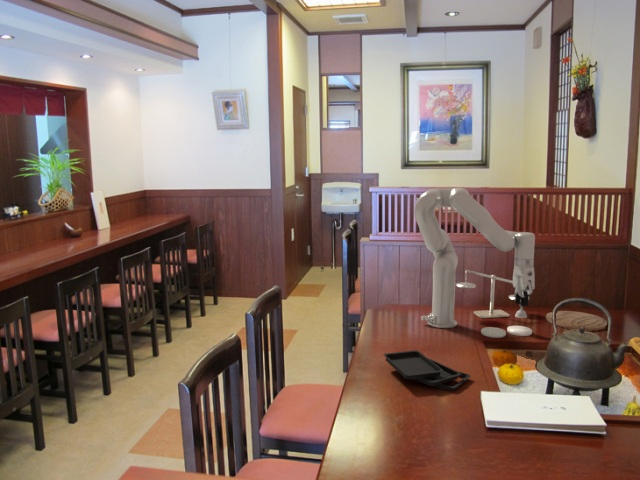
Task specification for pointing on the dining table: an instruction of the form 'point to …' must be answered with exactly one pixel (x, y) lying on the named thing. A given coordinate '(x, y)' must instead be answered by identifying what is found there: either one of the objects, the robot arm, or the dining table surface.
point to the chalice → (520, 312)
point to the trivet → (577, 320)
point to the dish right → (519, 330)
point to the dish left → (493, 332)
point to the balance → (491, 312)
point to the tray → (424, 369)
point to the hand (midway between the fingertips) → (521, 304)
